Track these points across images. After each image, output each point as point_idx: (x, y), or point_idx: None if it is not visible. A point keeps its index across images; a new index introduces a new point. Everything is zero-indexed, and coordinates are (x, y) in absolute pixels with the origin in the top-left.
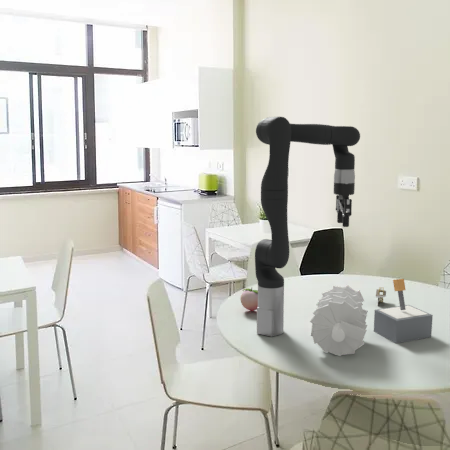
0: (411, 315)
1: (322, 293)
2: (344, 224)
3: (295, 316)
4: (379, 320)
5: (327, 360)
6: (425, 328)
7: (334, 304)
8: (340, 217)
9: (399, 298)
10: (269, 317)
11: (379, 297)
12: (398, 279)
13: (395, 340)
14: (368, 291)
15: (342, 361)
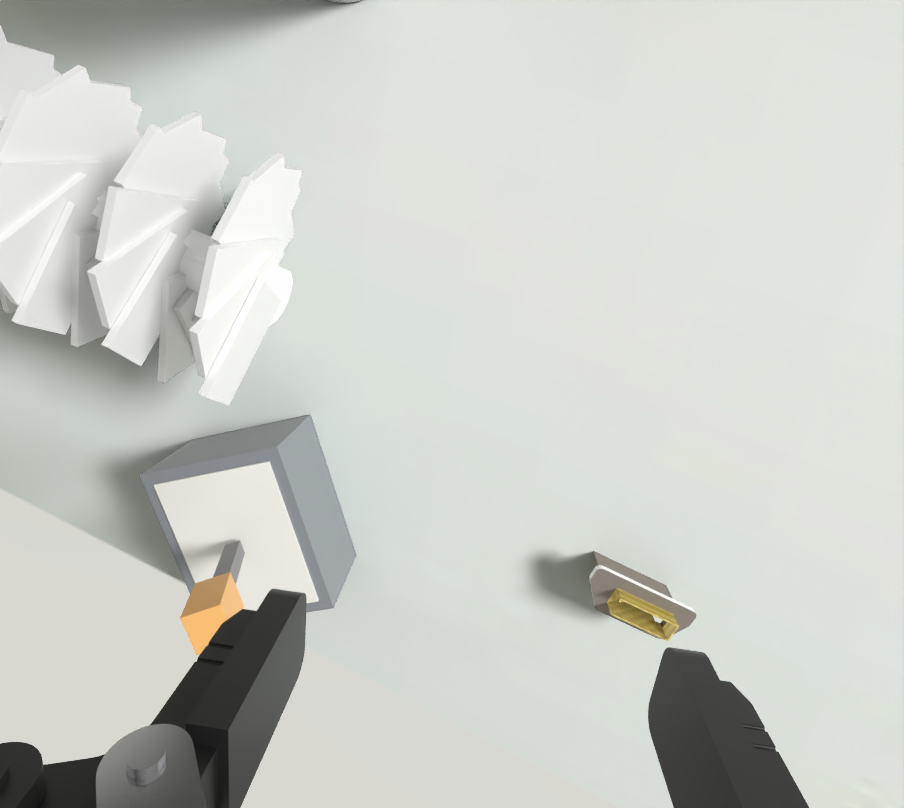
0: (192, 553)
1: (242, 180)
2: (229, 621)
3: (538, 129)
4: (258, 440)
5: None
6: None
7: None
8: (690, 767)
9: (226, 566)
10: None
11: (589, 576)
12: (183, 624)
13: (188, 442)
14: (809, 601)
15: None
